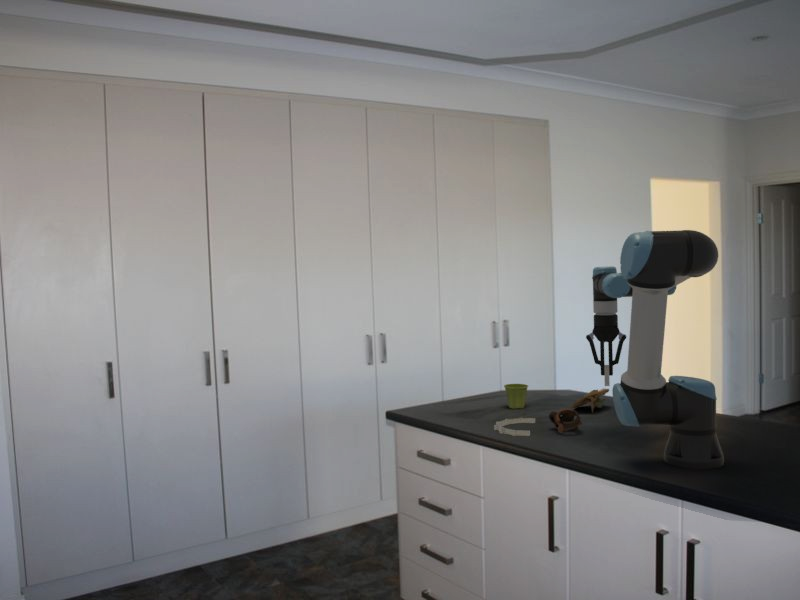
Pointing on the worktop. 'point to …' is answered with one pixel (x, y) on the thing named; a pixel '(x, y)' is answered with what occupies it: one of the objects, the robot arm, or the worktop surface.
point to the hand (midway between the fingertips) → (607, 385)
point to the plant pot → (516, 395)
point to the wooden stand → (591, 399)
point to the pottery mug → (565, 420)
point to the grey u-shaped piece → (513, 421)
